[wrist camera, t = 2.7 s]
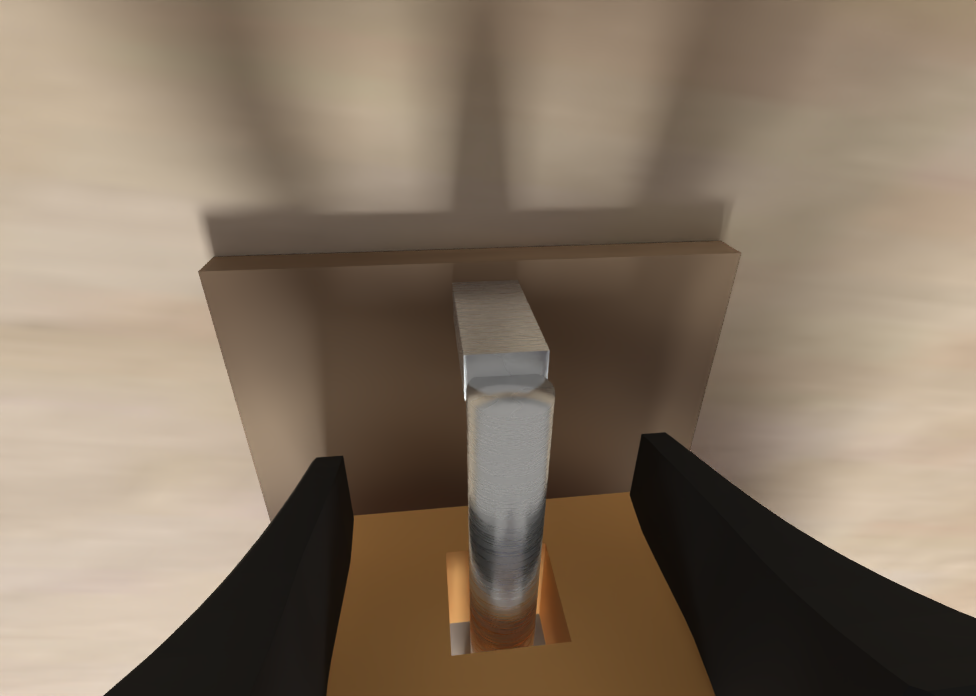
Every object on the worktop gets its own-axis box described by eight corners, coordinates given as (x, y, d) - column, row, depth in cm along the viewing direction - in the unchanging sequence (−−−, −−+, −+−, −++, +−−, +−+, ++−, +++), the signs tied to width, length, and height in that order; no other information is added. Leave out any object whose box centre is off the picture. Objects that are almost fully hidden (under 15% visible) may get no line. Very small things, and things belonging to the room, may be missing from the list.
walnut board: (626, 636, 22) (634, 659, 22) (325, 671, 21) (321, 697, 20) (720, 241, 14) (741, 252, 13) (214, 256, 12) (198, 271, 11)
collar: (630, 558, 16) (719, 767, 12) (337, 588, 15) (300, 830, 11) (644, 490, 15) (753, 697, 10) (322, 518, 14) (271, 763, 9)
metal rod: (505, 668, 21) (527, 823, 17) (461, 673, 21) (472, 832, 16) (521, 279, 12) (575, 392, 8) (448, 283, 12) (463, 399, 8)
